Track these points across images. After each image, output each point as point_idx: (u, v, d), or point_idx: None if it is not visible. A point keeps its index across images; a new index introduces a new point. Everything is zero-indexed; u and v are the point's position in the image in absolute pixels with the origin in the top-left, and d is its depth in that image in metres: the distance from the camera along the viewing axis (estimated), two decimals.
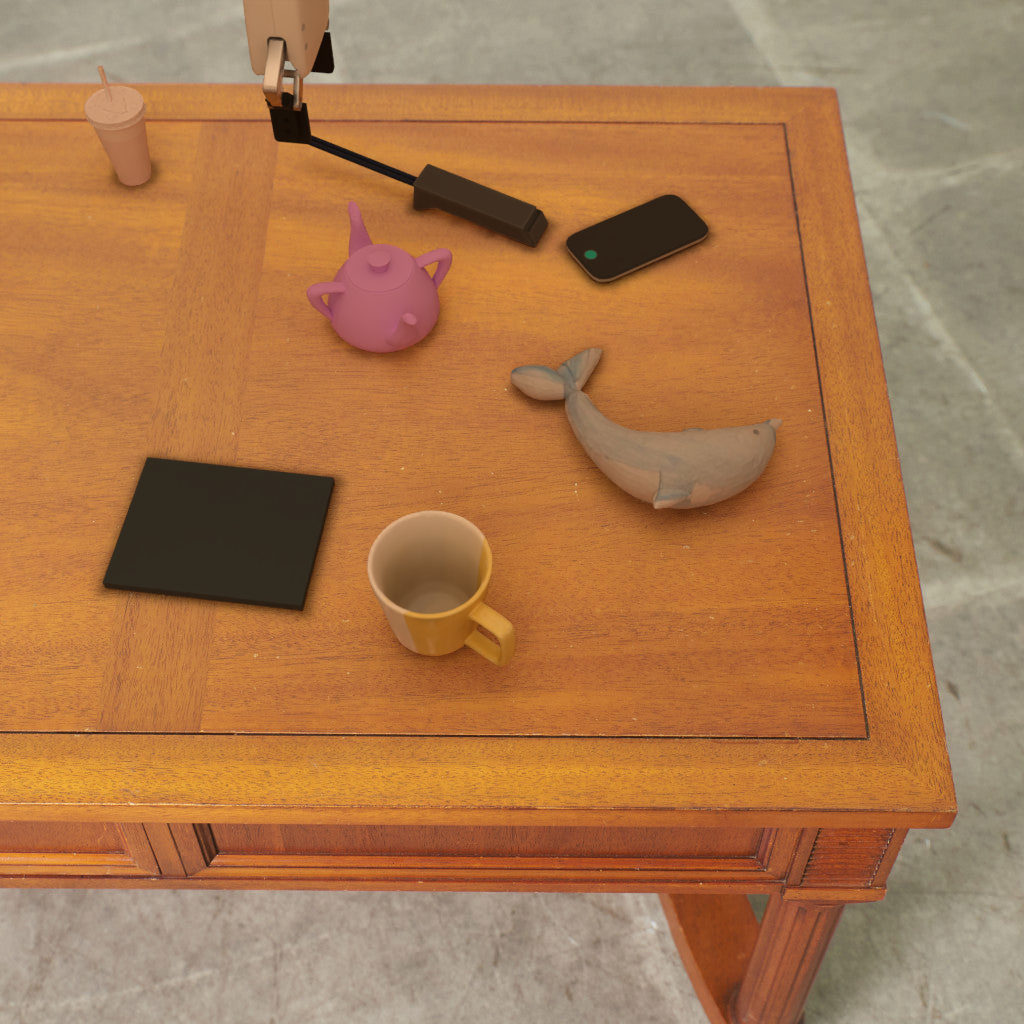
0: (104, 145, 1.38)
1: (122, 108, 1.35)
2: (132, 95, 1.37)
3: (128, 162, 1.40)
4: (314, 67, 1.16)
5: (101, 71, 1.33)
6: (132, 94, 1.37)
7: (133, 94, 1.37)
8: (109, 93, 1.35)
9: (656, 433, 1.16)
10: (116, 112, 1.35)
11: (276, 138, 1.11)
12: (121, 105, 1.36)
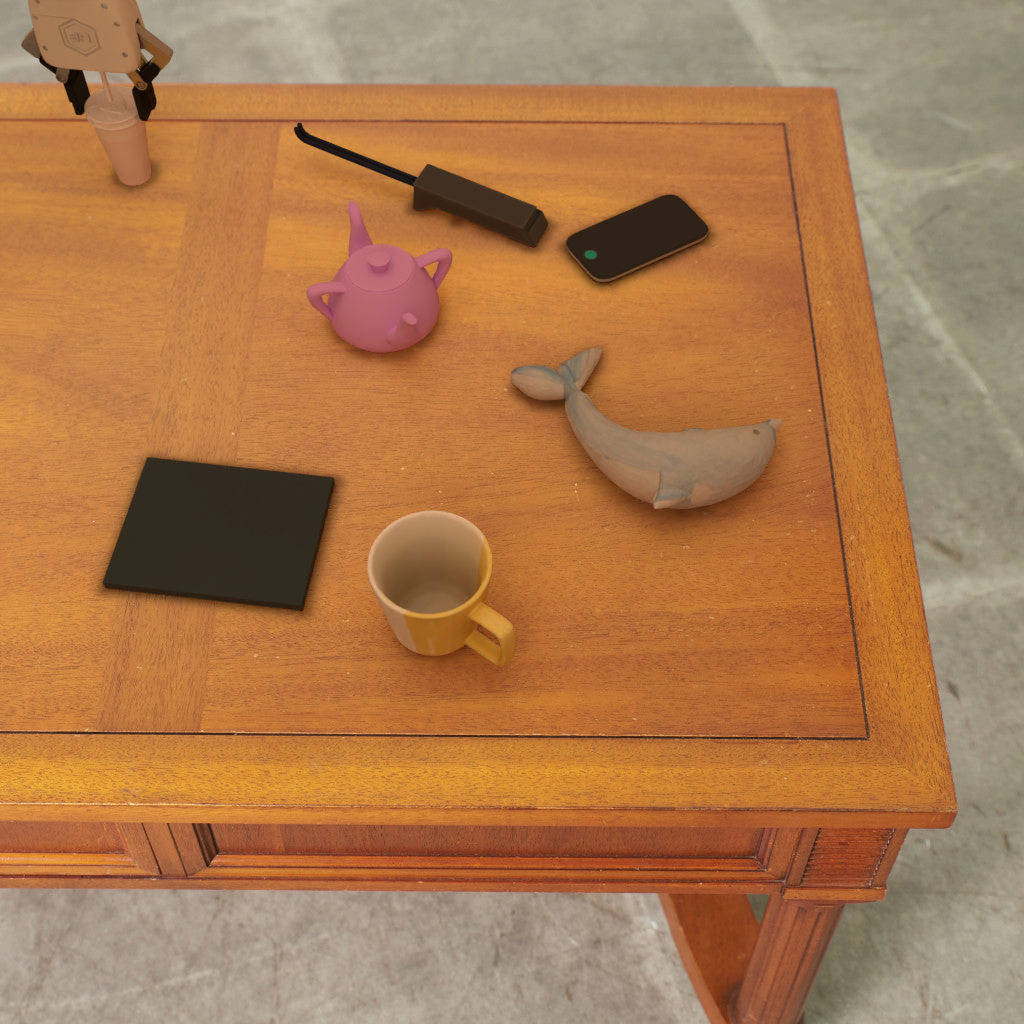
0: (104, 145, 1.38)
1: (122, 108, 1.35)
2: (132, 95, 1.37)
3: (128, 162, 1.40)
4: None
5: None
6: (132, 94, 1.37)
7: None
8: (109, 93, 1.35)
9: (656, 433, 1.16)
10: (116, 112, 1.35)
11: (146, 119, 1.35)
12: (121, 105, 1.36)
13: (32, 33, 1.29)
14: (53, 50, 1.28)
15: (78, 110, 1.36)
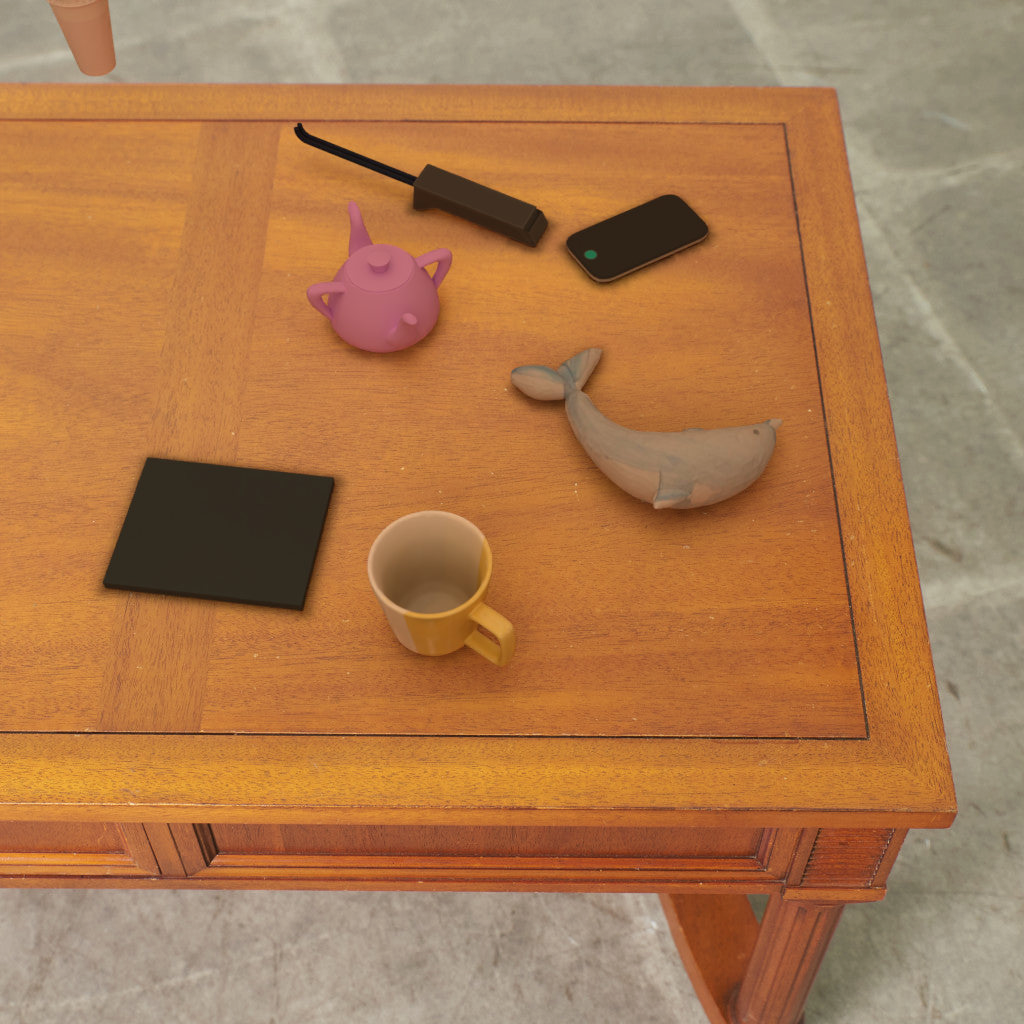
0: (62, 26, 1.24)
1: None
2: None
3: (89, 47, 1.25)
4: None
5: None
6: None
7: None
8: None
9: (656, 433, 1.16)
10: None
11: None
12: None
13: None
14: None
15: None
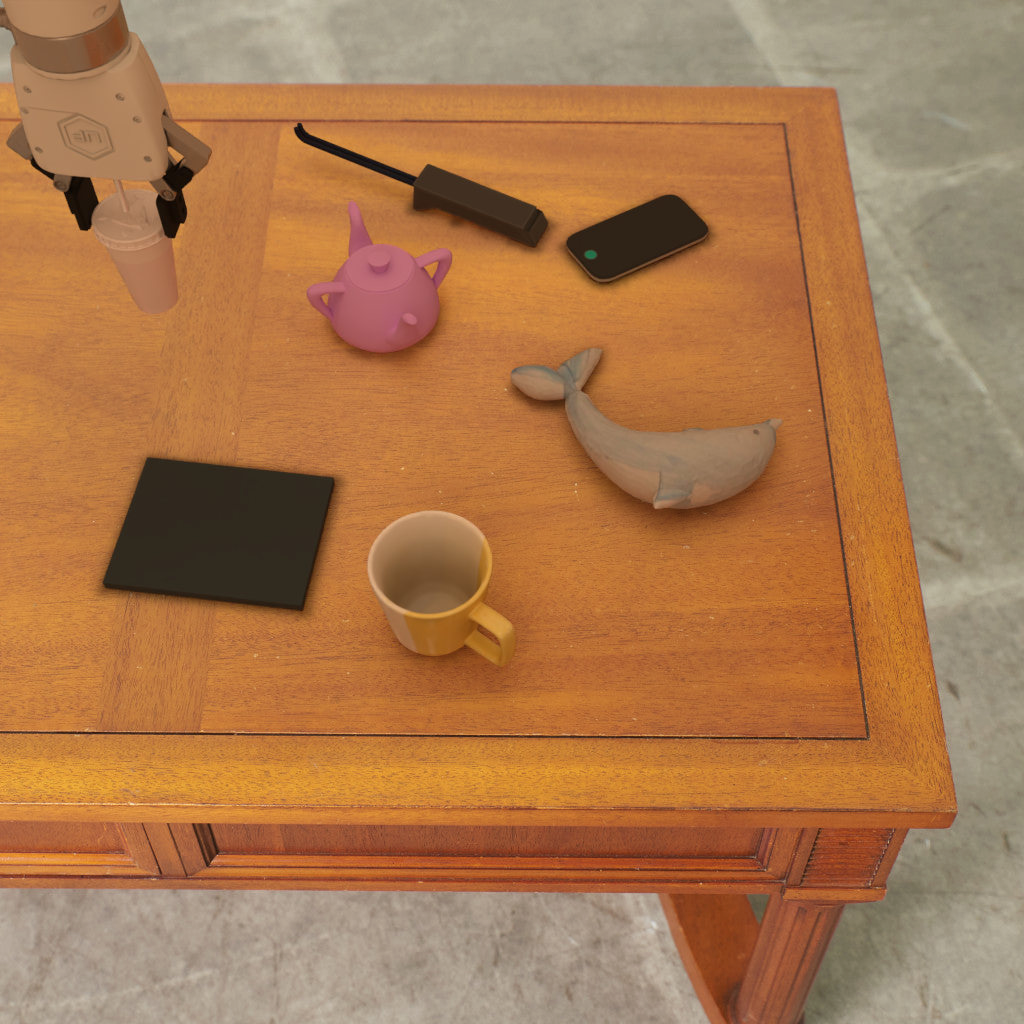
0: (118, 266, 1.05)
1: (142, 221, 1.02)
2: (155, 202, 1.04)
3: (149, 287, 1.06)
4: None
5: None
6: (155, 200, 1.04)
7: None
8: (125, 201, 1.02)
9: (656, 433, 1.16)
10: (134, 226, 1.02)
11: (173, 235, 1.02)
12: (141, 216, 1.02)
13: (22, 129, 0.96)
14: (49, 153, 0.94)
15: (84, 224, 1.02)
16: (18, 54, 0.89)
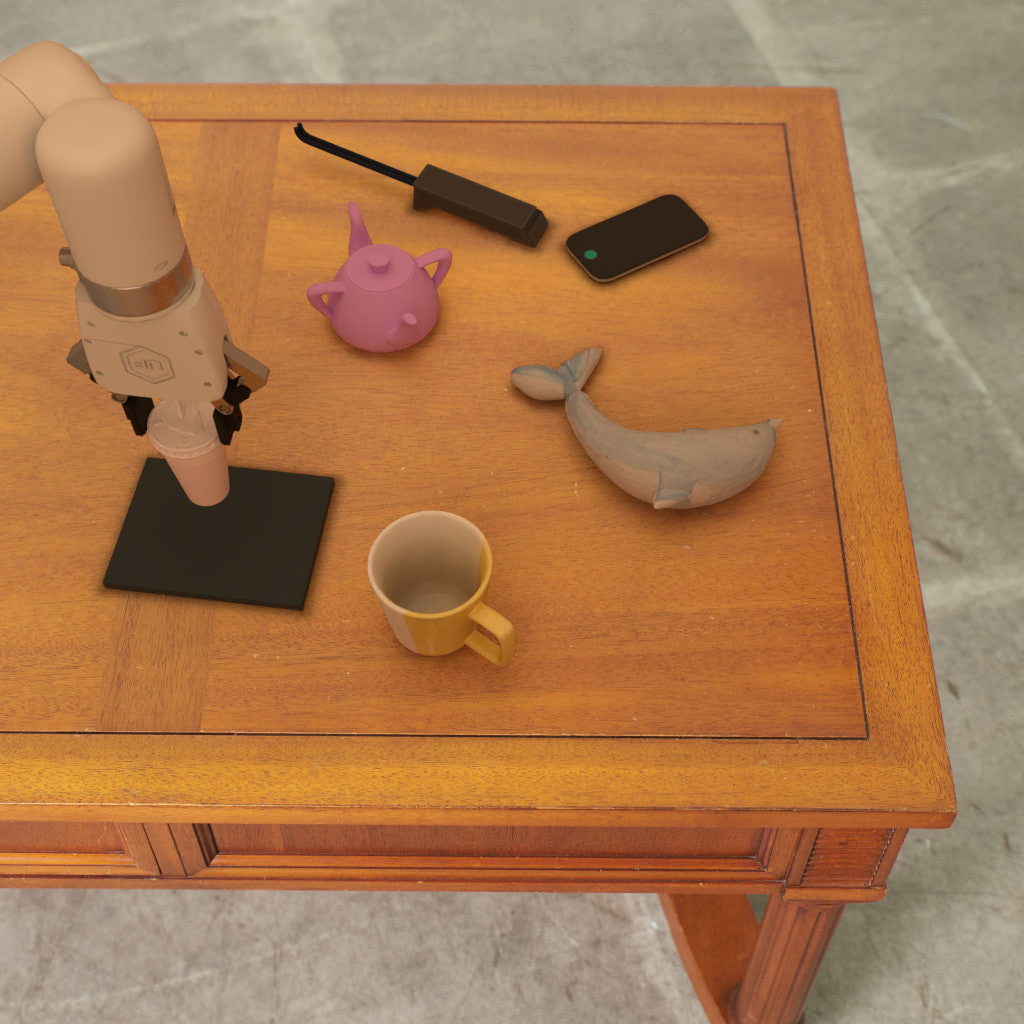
0: (172, 467, 1.05)
1: (198, 428, 1.03)
2: (210, 406, 1.04)
3: (202, 485, 1.07)
4: None
5: None
6: (210, 404, 1.04)
7: (211, 404, 1.04)
8: (181, 408, 1.02)
9: (656, 433, 1.16)
10: (190, 433, 1.02)
11: (229, 443, 1.03)
12: (196, 423, 1.03)
13: (82, 349, 0.96)
14: (110, 376, 0.95)
15: (139, 430, 1.03)
16: (83, 291, 0.90)
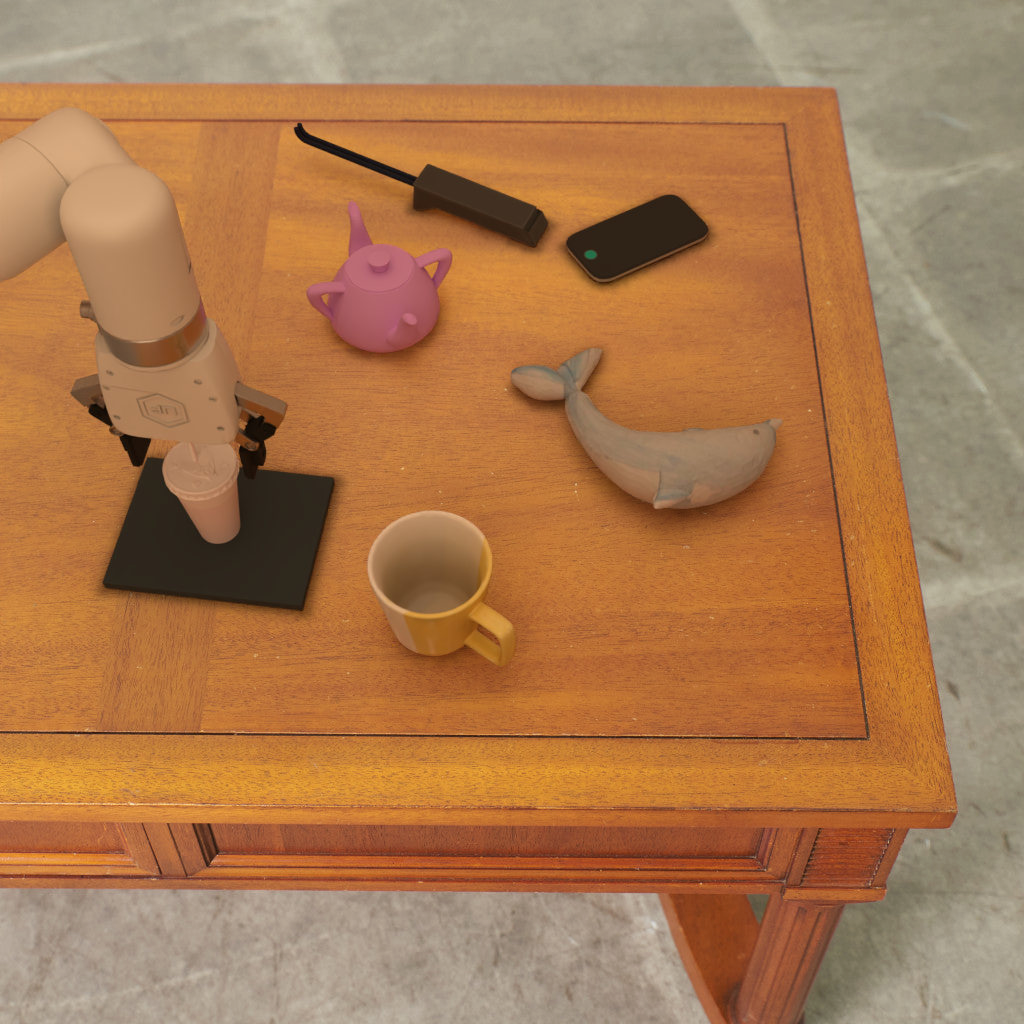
0: (186, 508, 1.10)
1: (211, 471, 1.08)
2: (222, 450, 1.09)
3: (214, 525, 1.12)
4: (145, 449, 1.07)
5: None
6: (222, 448, 1.09)
7: (223, 448, 1.09)
8: (194, 453, 1.07)
9: (656, 433, 1.16)
10: (203, 477, 1.08)
11: (253, 477, 1.06)
12: (209, 467, 1.08)
13: (92, 387, 1.00)
14: (127, 420, 0.99)
15: (136, 462, 1.07)
16: (102, 342, 0.94)
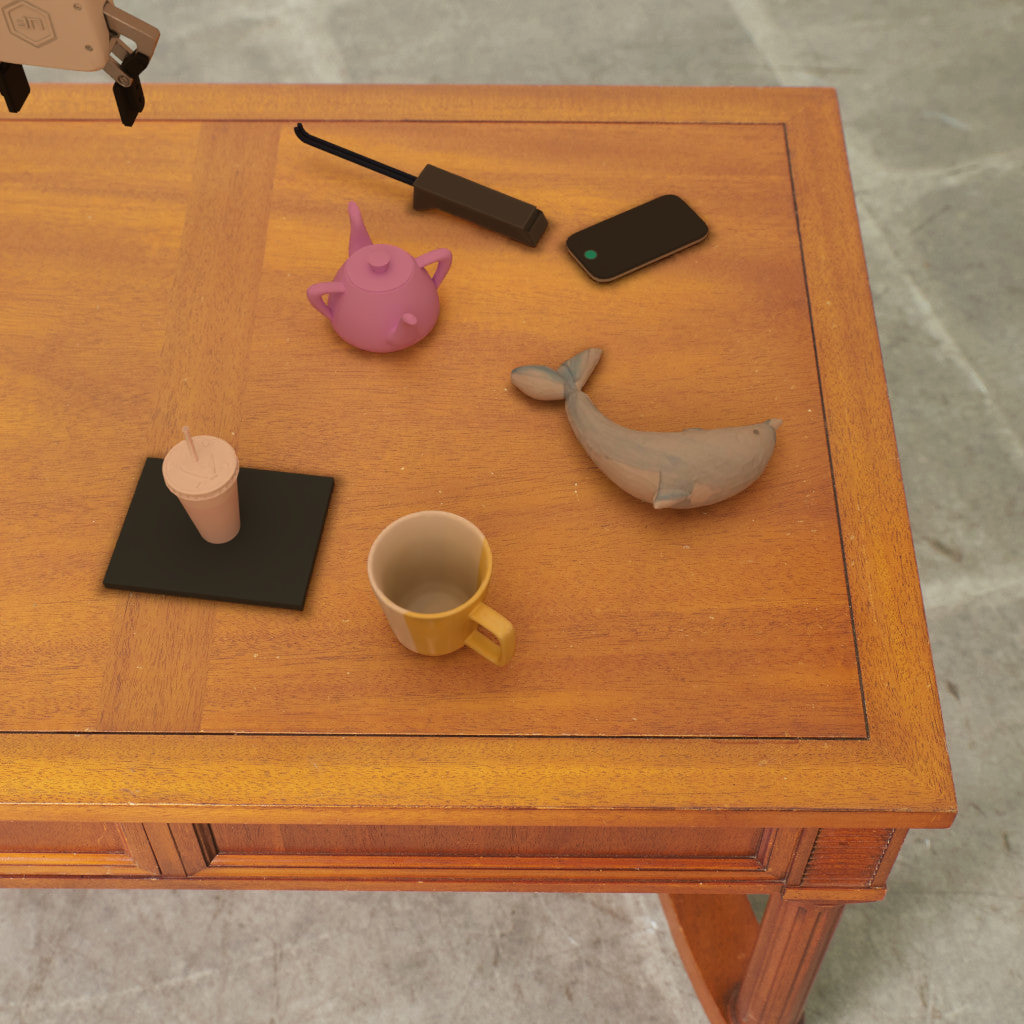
0: (186, 508, 1.10)
1: (211, 471, 1.08)
2: (222, 450, 1.09)
3: (214, 525, 1.12)
4: (22, 97, 1.06)
5: (186, 434, 1.05)
6: (222, 448, 1.09)
7: (223, 448, 1.09)
8: (194, 453, 1.07)
9: (656, 433, 1.16)
10: (203, 477, 1.08)
11: (130, 124, 1.05)
12: (209, 467, 1.08)
13: None
14: None
15: (13, 106, 1.05)
16: None
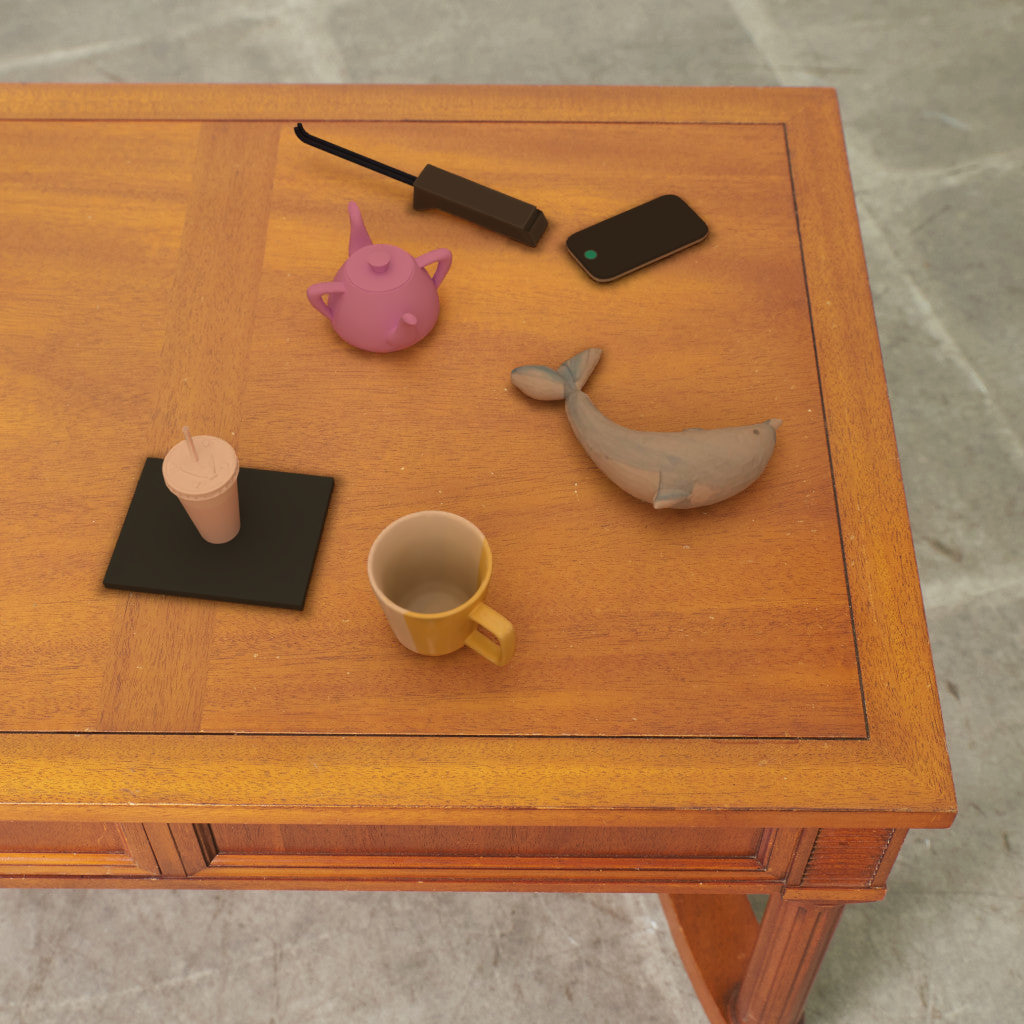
0: (186, 508, 1.10)
1: (211, 471, 1.08)
2: (222, 450, 1.09)
3: (214, 525, 1.12)
4: None
5: (186, 434, 1.05)
6: (222, 448, 1.09)
7: (223, 448, 1.09)
8: (194, 453, 1.07)
9: (656, 433, 1.16)
10: (203, 477, 1.08)
11: None
12: (209, 467, 1.08)
13: None
14: None
15: None
16: None
